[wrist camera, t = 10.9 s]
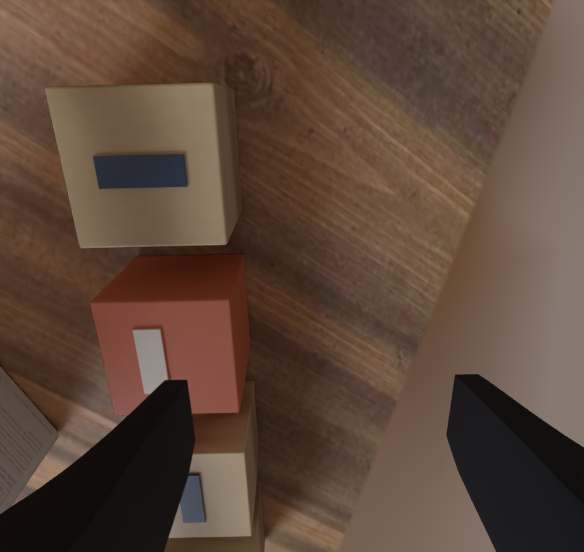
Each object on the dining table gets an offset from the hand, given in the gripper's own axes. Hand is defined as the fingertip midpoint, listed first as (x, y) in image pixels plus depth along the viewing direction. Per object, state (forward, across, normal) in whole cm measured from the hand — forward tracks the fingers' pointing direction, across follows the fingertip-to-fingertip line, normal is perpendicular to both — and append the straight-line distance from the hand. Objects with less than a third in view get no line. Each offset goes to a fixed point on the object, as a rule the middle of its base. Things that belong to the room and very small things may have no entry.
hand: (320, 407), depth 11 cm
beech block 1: (+9, +5, -6) cm, 12 cm away
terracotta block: (+9, +6, +1) cm, 11 cm away
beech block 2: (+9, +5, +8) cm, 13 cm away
